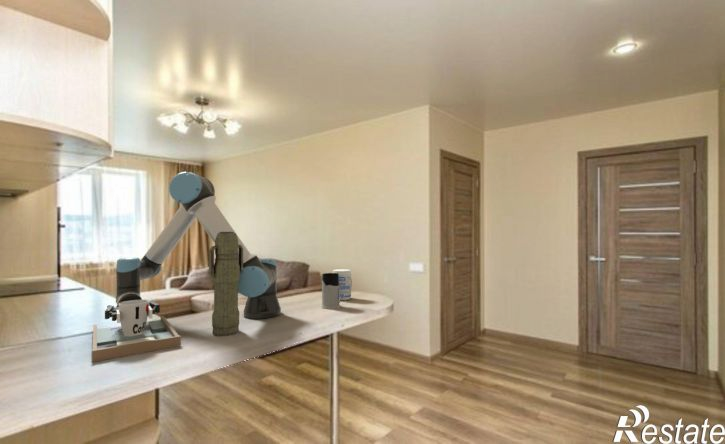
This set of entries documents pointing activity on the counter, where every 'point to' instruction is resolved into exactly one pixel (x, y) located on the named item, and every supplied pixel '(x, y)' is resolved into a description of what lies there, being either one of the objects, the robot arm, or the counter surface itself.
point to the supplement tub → (344, 283)
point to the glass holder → (331, 290)
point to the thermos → (225, 283)
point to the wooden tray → (133, 341)
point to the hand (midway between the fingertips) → (135, 316)
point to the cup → (133, 316)
